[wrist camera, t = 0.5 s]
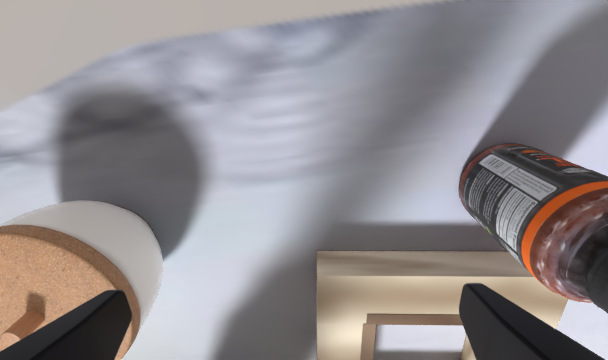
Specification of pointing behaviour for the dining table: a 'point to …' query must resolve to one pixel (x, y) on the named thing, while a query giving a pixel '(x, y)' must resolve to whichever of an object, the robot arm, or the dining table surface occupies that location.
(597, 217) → the supplement bottle
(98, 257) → the lidded jar
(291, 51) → the dining table surface
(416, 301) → the maple socket board
